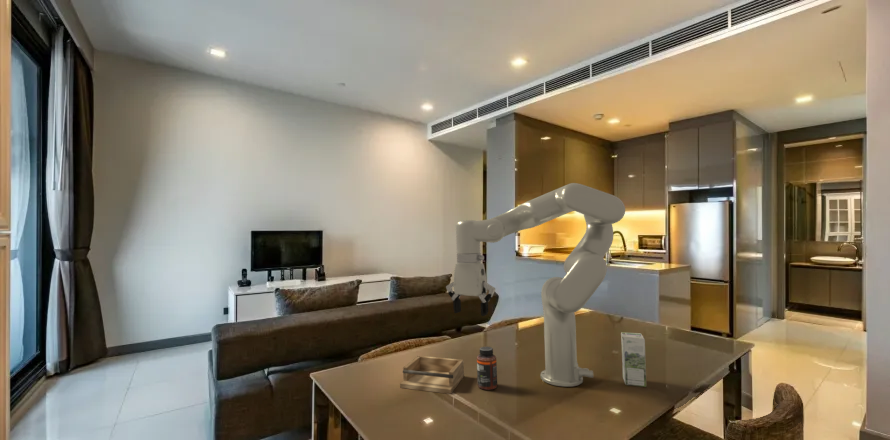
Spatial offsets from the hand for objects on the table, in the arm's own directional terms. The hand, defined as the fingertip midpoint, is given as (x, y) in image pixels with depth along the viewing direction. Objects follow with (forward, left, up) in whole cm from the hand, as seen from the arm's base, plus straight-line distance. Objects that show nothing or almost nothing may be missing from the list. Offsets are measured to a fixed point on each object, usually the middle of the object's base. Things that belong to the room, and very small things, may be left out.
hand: (470, 313), depth 114 cm
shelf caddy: (+12, +4, -21) cm, 24 cm away
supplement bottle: (-5, +3, -21) cm, 22 cm away
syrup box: (-47, -12, -21) cm, 53 cm away
